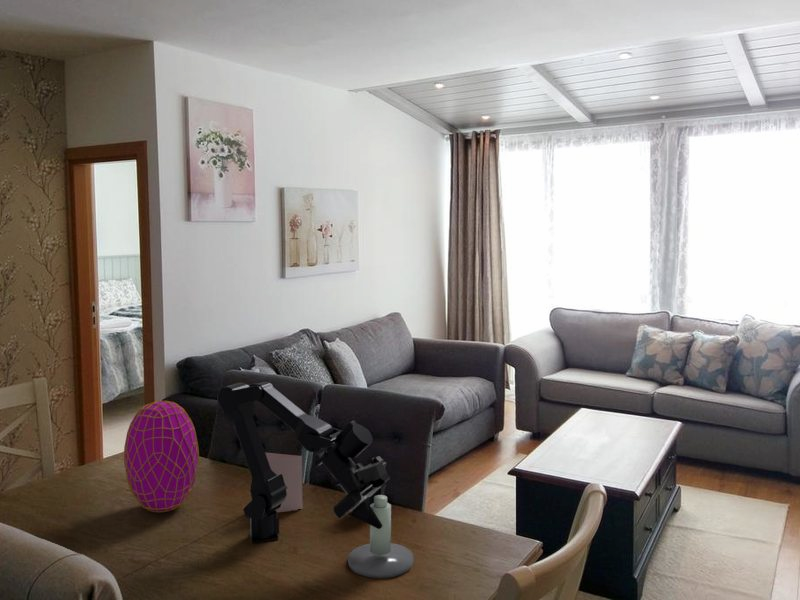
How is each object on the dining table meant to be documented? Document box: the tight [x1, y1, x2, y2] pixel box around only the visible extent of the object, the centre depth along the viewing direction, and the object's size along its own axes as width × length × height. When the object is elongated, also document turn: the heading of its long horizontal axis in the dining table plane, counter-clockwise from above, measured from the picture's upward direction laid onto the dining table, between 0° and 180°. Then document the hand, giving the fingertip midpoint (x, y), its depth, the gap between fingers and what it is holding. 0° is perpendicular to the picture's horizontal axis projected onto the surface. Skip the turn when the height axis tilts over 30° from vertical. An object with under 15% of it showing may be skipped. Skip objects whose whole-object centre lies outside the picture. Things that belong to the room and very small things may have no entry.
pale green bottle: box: [369, 494, 392, 555], centre depth 154 cm, size 5×5×12 cm
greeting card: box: [265, 452, 303, 513], centre depth 184 cm, size 11×7×15 cm, turn 74°
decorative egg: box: [123, 400, 200, 513], centre depth 184 cm, size 19×19×30 cm
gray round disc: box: [347, 542, 414, 579], centre depth 155 cm, size 15×15×1 cm
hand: (385, 523), depth 154 cm, fingers closed on pale green bottle, 5 cm apart
